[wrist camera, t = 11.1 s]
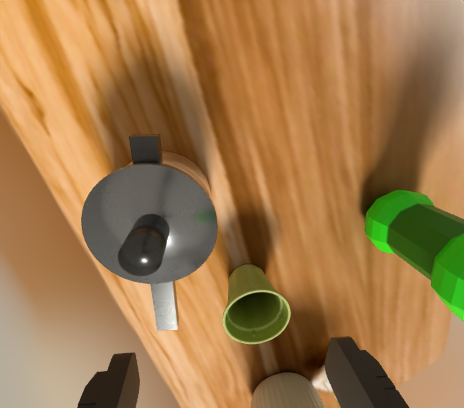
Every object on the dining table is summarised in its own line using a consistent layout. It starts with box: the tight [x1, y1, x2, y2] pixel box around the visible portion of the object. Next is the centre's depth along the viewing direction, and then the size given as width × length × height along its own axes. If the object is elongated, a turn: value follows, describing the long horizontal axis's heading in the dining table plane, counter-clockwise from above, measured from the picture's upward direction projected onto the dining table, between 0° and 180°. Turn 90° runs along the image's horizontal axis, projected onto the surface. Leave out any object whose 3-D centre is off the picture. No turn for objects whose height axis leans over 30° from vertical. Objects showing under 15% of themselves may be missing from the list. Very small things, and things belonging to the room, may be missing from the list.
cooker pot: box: [126, 134, 211, 331], centre depth 32 cm, size 25×13×9 cm, turn 0°
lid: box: [81, 162, 218, 284], centre depth 24 cm, size 14×14×6 cm
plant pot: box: [223, 264, 291, 344], centre depth 38 cm, size 9×9×9 cm
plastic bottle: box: [365, 190, 464, 321], centre depth 29 cm, size 10×10×25 cm
